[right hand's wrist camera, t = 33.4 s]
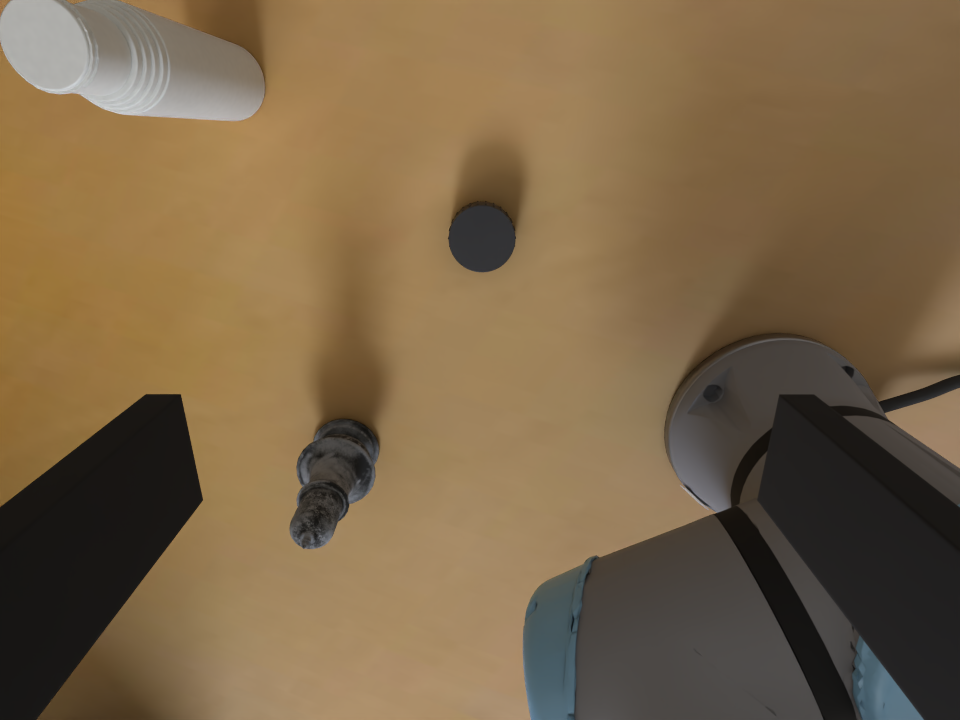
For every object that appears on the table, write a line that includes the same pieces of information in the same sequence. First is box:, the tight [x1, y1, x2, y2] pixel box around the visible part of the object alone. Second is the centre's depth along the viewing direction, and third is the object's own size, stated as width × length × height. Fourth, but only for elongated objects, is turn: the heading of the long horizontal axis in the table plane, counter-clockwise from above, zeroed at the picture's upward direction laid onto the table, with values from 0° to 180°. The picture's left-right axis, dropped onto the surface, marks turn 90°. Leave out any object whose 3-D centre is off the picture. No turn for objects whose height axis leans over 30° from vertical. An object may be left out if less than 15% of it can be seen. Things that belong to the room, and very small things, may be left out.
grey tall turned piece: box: [290, 419, 379, 549], centre depth 41 cm, size 6×6×12 cm
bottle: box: [0, 0, 265, 121], centre depth 29 cm, size 5×5×17 cm
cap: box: [448, 201, 516, 272], centre depth 39 cm, size 4×5×2 cm
